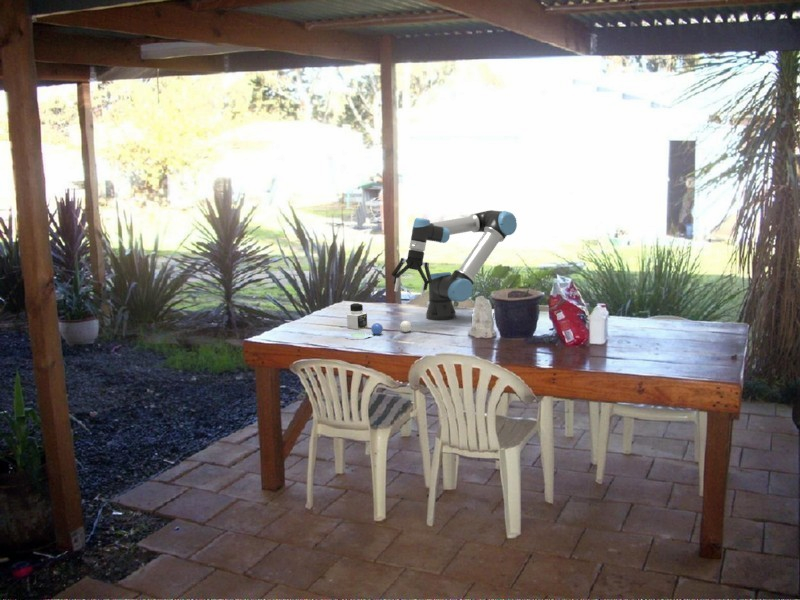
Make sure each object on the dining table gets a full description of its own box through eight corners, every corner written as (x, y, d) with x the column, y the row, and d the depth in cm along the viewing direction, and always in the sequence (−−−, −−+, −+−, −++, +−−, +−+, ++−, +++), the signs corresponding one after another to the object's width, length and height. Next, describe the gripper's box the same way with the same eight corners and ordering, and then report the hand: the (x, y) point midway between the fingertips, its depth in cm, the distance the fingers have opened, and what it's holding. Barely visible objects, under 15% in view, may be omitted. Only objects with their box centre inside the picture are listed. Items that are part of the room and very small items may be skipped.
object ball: (381, 332, 389) (381, 321, 388) (384, 335, 384) (383, 323, 382) (370, 333, 388) (369, 322, 387) (372, 336, 382) (372, 324, 381)
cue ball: (410, 330, 392) (409, 319, 391) (413, 332, 387) (412, 321, 386) (399, 331, 391) (398, 320, 390) (401, 333, 385) (401, 322, 384)
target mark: (370, 331, 392) (370, 331, 392) (376, 338, 378) (376, 337, 378) (341, 334, 389) (341, 334, 389) (346, 340, 375) (346, 340, 375)
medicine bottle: (358, 329, 397) (357, 305, 395) (347, 328, 402) (346, 304, 400) (367, 326, 403) (366, 303, 401) (356, 325, 407) (355, 301, 405)
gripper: (390, 245, 391) (382, 289, 392) (438, 254, 382) (430, 298, 383) (395, 246, 398) (388, 289, 399) (443, 255, 389) (435, 298, 390)
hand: (408, 294), depth 391 cm, fingers open, 13 cm apart
